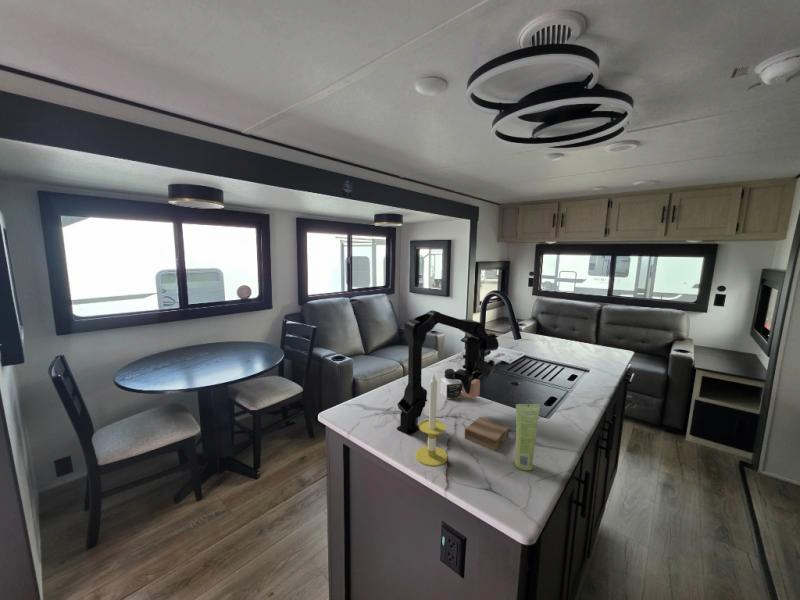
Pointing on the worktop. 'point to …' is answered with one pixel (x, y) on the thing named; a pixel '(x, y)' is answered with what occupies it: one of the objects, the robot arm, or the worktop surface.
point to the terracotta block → (472, 389)
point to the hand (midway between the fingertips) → (470, 391)
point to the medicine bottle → (450, 385)
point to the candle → (432, 433)
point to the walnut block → (487, 433)
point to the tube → (526, 434)
